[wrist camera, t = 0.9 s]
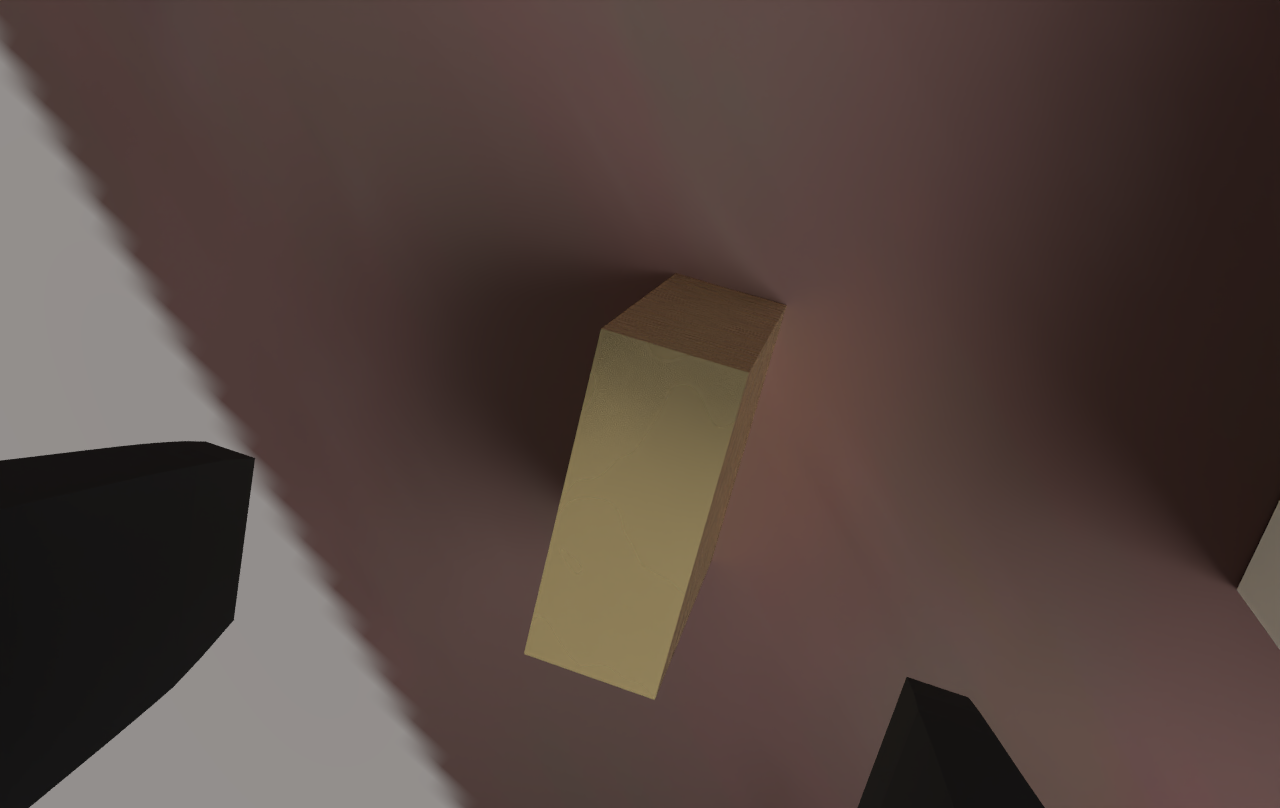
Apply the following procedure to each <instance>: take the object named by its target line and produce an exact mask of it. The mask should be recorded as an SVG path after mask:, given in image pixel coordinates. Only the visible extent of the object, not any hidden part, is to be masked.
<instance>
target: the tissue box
mask: <svg viewBox="0 0 1280 808" xmlns="http://www.w3.org/2000/svg"><path fill="white" fill-rule="evenodd" d="M1237 591H1238V592H1239V594H1240V595H1241V597H1242V598H1243V599H1244V601H1245V602H1246V603H1247V605H1248V606H1249V608H1250V609H1251V610H1252V612H1253V613H1254V615H1255V616H1256V617H1257V619H1258V620H1259V622H1260V623H1261V624H1262V626H1263V627H1264V628H1265V630H1266V631H1267V633H1268V634H1269V635H1270V637H1271V638H1272V640H1273V641H1274V642H1275V644H1276V645H1277V647H1278V648H1279V649H1280V501H1279V503H1278V505H1277V507H1276V509H1275V511H1274V513H1273V515H1272V517H1271V519H1270V521H1269V524H1268V526H1267V528H1266V530H1265V532H1264V534H1263V536H1262V538H1261V540H1260V542H1259V544H1258V547H1257V549H1256V551H1255V553H1254V555H1253V557H1252V559H1251V561H1250V563H1249V565H1248V567H1247V569H1246V572H1245V574H1244V576H1243V578H1242V580H1241V582H1240V584H1239V586H1238V588H1237Z"/></svg>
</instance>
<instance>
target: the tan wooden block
mask: <svg viewBox="0 0 1280 808" xmlns="http://www.w3.org/2000/svg"><path fill="white" fill-rule="evenodd" d="M785 308H786V305H784V304H780V303H777V302H773V301H770V300H767V299H763V298H760V297H756V296H753V295H749V294H746V293H742V292H739V291H735V290H732V289H728V288H725V287H721V286H718V285H714V284H711V283H707V282H704V281H701V280H697V279H694V278H690V277H687V276H683V275H680V274H674V275H673V276H672V277H670V278H669V279H668V280H666V281H665V282H663V283H662V284H661V285H659V286H658V287H657V288H655V289H654V290H653V291H651V292H650V293H649V294H647V295H646V296H645V297H643V298H642V299H640V300H639V301H638V302H636V303H635V304H634V305H632V306H631V307H630V308H628V309H627V310H626V311H624V312H623V313H622V314H620V315H619V316H617V317H616V318H615V319H613V320H612V321H611V322H609V323H608V324H607V325H605V326H604V327H603V328H601V331H600V335H599V340H598V344H597V348H596V352H595V356H594V361H593V365H592V369H591V373H590V378H589V382H588V386H587V390H586V394H585V399H584V403H583V407H582V411H581V416H580V420H579V424H578V428H577V432H576V437H575V441H574V445H573V449H572V453H571V458H570V462H569V466H568V470H567V475H566V479H565V483H564V487H563V491H562V496H561V500H560V504H559V508H558V513H557V517H556V521H555V525H554V529H553V534H552V538H551V542H550V546H549V551H548V555H547V559H546V563H545V567H544V572H543V576H542V580H541V584H540V588H539V593H538V597H537V601H536V605H535V610H534V614H533V618H532V622H531V626H530V631H529V635H528V639H527V643H526V648H525V652H524V654H526V655H529V656H531V657H534V658H537V659H540V660H543V661H546V662H549V663H551V664H554V665H557V666H560V667H563V668H566V669H568V670H571V671H574V672H577V673H580V674H583V675H585V676H588V677H591V678H594V679H597V680H600V681H602V682H605V683H608V684H611V685H614V686H617V687H620V688H622V689H625V690H628V691H631V692H634V693H637V694H639V695H642V696H645V697H648V698H651V699H654V700H655V698H656V696H657V693H658V691H659V688H660V686H661V683H662V681H663V678H664V676H665V673H666V671H667V668H668V666H669V664H670V661H671V659H672V656H673V654H674V651H675V649H676V646H677V644H678V641H679V639H680V636H681V634H682V632H683V629H684V627H685V624H686V622H687V619H688V617H689V614H690V612H691V609H692V607H693V604H694V602H695V600H696V597H697V595H698V592H699V590H700V587H701V585H702V582H703V580H704V577H705V575H706V572H707V570H708V568H709V565H710V563H711V560H712V557H713V554H714V550H715V547H716V543H717V540H718V537H719V533H720V530H721V526H722V523H723V520H724V516H725V513H726V509H727V506H728V502H729V499H730V496H731V492H732V489H733V485H734V482H735V479H736V475H737V472H738V468H739V465H740V462H741V458H742V455H743V451H744V448H745V445H746V441H747V438H748V434H749V431H750V428H751V424H752V421H753V417H754V414H755V411H756V407H757V404H758V400H759V397H760V394H761V390H762V387H763V383H764V380H765V377H766V373H767V370H768V366H769V363H770V360H771V356H772V353H773V349H774V346H775V343H776V339H777V336H778V332H779V329H780V326H781V322H782V319H783V315H784V312H785Z"/></svg>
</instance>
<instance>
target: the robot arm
mask: <svg viewBox="0 0 1280 808" xmlns="http://www.w3.org/2000/svg"><path fill="white" fill-rule="evenodd" d="M254 461H255V458H253V457H250V456H247V455H244V454H241V453H238V452H235V451H232V450H229V449H226V448H223V447H220V446H217V445H214V444H211V443H208V442H194V441H181V442H163V443H150V444H139V445H130V446H120V447H111V448H102V449H94V450H85V451H77V452H69V453H60V454H53V455H44V456H35V457H27V458H19V459H10V460H2V461H0V808H29V807H30V806H31V805H33V804H34V803H35V802H36V801H38V800H39V799H40V798H41V797H42V796H44V795H45V794H46V793H47V792H48V791H50V790H51V789H52V788H53V787H55V786H56V785H57V784H58V783H59V782H61V781H62V780H63V779H64V778H65V777H67V776H68V775H69V774H70V773H71V772H73V771H74V770H75V769H76V768H78V767H79V766H80V765H81V764H82V763H84V762H85V761H86V760H87V759H88V758H90V757H91V756H92V755H93V754H95V752H97V751H98V750H99V749H101V748H102V747H103V746H104V745H105V744H107V743H108V742H109V741H110V740H111V739H113V738H114V737H115V736H116V735H118V734H119V733H120V732H121V731H122V730H123V729H125V728H126V727H127V726H128V725H129V724H131V723H132V722H133V721H134V720H135V719H136V718H138V717H139V716H140V715H141V714H142V713H143V712H145V711H146V710H147V709H148V708H150V707H151V706H152V705H153V704H154V703H155V702H157V701H158V700H159V699H160V698H161V697H162V696H163V695H164V694H166V693H167V692H168V691H169V690H170V689H171V688H173V687H174V686H175V685H176V684H177V682H178V681H179V680H180V679H181V678H182V677H183V676H184V675H185V674H186V673H187V672H188V671H189V670H190V669H191V668H192V667H193V666H194V664H195V663H196V662H197V661H198V660H199V659H200V658H201V657H202V656H203V655H204V654H205V652H206V651H207V650H208V649H209V648H210V647H211V646H212V644H213V643H214V642H215V641H216V640H217V639H218V638H219V636H220V635H221V634H222V633H223V632H224V631H225V629H226V628H227V627H228V626H229V625H230V624H231V623H232V621H233V620H234V613H235V606H236V598H237V591H238V583H239V582H238V581H239V574H240V568H241V559H242V552H243V544H244V537H245V530H246V522H247V514H248V507H249V499H250V492H251V484H252V476H253V469H254ZM858 808H1045V807H1044V806H1043V805H1042V803H1041V802H1040V800H1039V799H1038V797H1037V796H1036V795H1035V793H1034V792H1033V790H1032V789H1031V787H1030V786H1029V784H1028V783H1027V782H1026V780H1025V779H1024V777H1023V776H1022V774H1021V773H1020V771H1019V770H1018V768H1017V767H1016V765H1015V764H1014V762H1013V761H1012V759H1011V758H1010V756H1009V755H1008V753H1007V752H1006V750H1005V749H1004V747H1003V746H1002V744H1001V743H1000V741H999V740H998V738H997V737H996V735H995V734H994V732H993V731H992V730H991V728H990V727H989V725H988V724H987V722H986V721H985V719H984V718H983V716H982V715H981V713H980V712H979V711H978V709H977V708H976V707H975V705H974V704H973V703H972V701H971V700H970V699H969V698H968V697H965V696H962V695H959V694H956V693H953V692H950V691H947V690H944V689H941V688H938V687H935V686H932V685H929V684H926V683H923V682H921V681H918V680H915V679H912V678H909V677H907V678H906V680H905V683H904V686H903V688H902V691H901V694H900V696H899V699H898V702H897V704H896V707H895V710H894V712H893V715H892V718H891V720H890V723H889V726H888V728H887V731H886V734H885V736H884V739H883V742H882V744H881V747H880V750H879V752H878V755H877V758H876V760H875V763H874V766H873V768H872V771H871V773H870V776H869V779H868V781H867V784H866V787H865V789H864V792H863V795H862V797H861V800H860V803H859V805H858Z"/></svg>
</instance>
